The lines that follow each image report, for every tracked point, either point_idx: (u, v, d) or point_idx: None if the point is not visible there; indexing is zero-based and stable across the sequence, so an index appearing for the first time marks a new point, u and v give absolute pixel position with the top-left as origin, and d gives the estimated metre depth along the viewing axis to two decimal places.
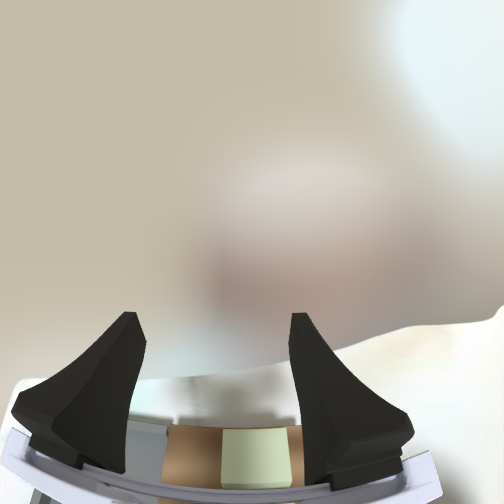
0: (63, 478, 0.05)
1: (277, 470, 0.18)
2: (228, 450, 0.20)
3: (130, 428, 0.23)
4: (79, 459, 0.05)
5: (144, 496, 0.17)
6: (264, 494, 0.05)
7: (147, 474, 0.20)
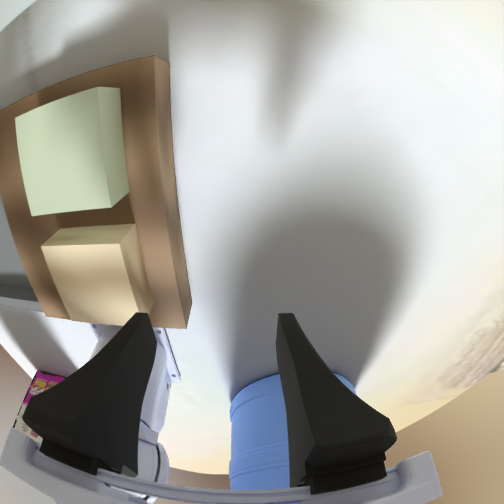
0: (63, 478, 0.05)
1: (87, 185, 0.11)
2: (25, 156, 0.10)
3: None
4: (94, 464, 0.05)
5: None
6: (264, 494, 0.05)
7: None
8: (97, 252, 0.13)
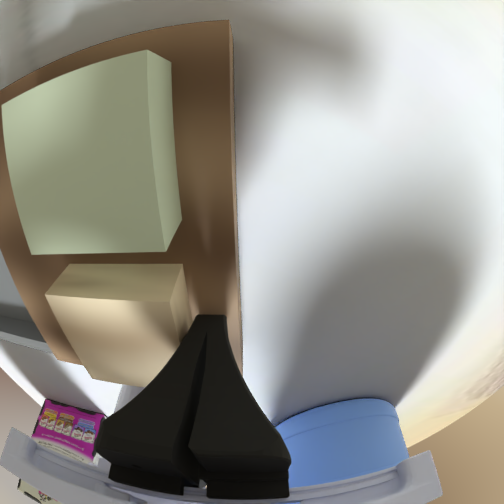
0: (63, 478, 0.05)
1: (123, 216, 0.08)
2: (16, 165, 0.06)
3: None
4: (182, 484, 0.05)
5: None
6: (264, 494, 0.05)
7: None
8: (133, 311, 0.09)
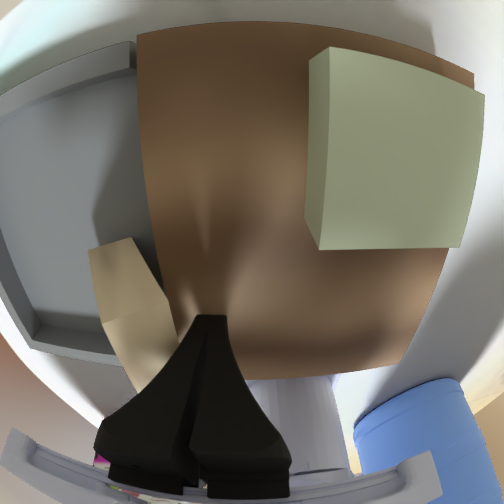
0: (63, 478, 0.05)
1: (447, 216, 0.08)
2: (348, 134, 0.07)
3: (47, 94, 0.08)
4: (181, 484, 0.05)
5: (130, 233, 0.13)
6: (264, 494, 0.05)
7: (119, 178, 0.12)
8: None
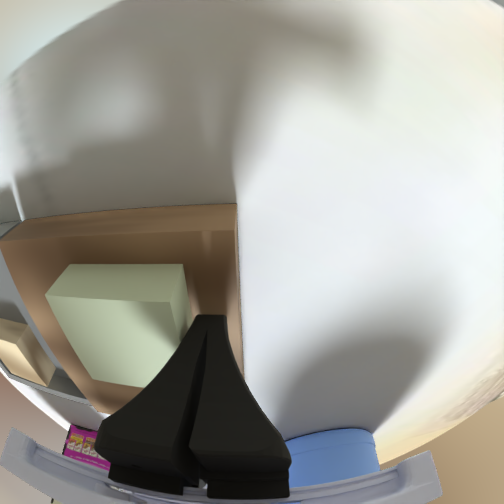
0: (63, 478, 0.05)
1: None
2: (74, 337, 0.10)
3: None
4: (181, 484, 0.05)
5: None
6: (264, 494, 0.06)
7: None
8: None
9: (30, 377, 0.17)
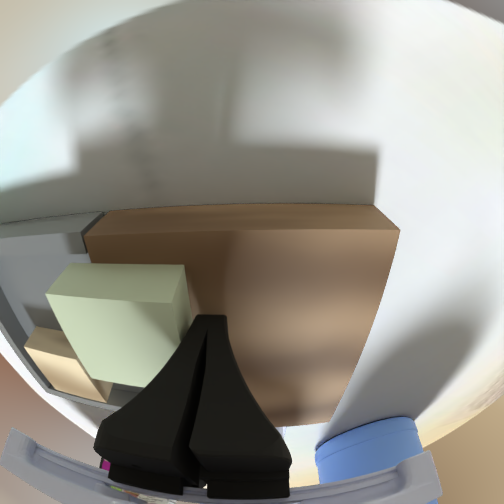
0: (63, 478, 0.05)
1: None
2: (74, 336, 0.10)
3: (32, 254, 0.12)
4: (181, 484, 0.05)
5: None
6: (264, 494, 0.06)
7: None
8: None
9: (83, 394, 0.18)
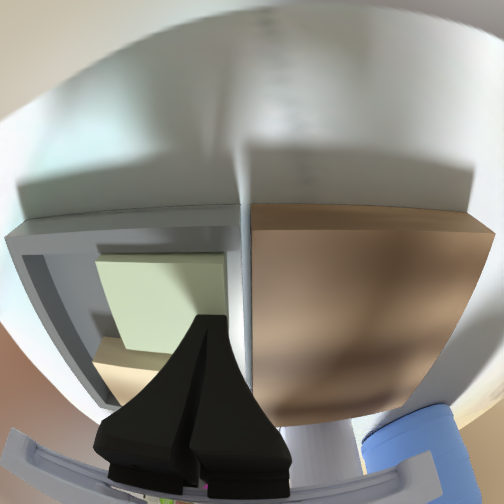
0: (63, 478, 0.05)
1: None
2: (117, 303, 0.12)
3: (144, 251, 0.12)
4: (181, 484, 0.05)
5: None
6: (264, 494, 0.06)
7: None
8: None
9: None
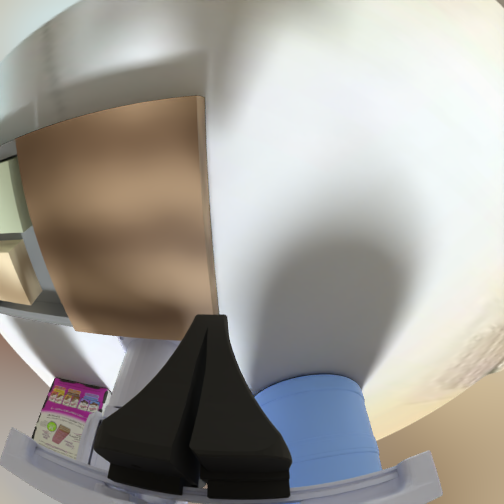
0: (63, 478, 0.05)
1: (11, 219, 0.15)
2: None
3: None
4: (181, 484, 0.05)
5: None
6: (264, 495, 0.05)
7: None
8: None
9: (16, 298, 0.19)
